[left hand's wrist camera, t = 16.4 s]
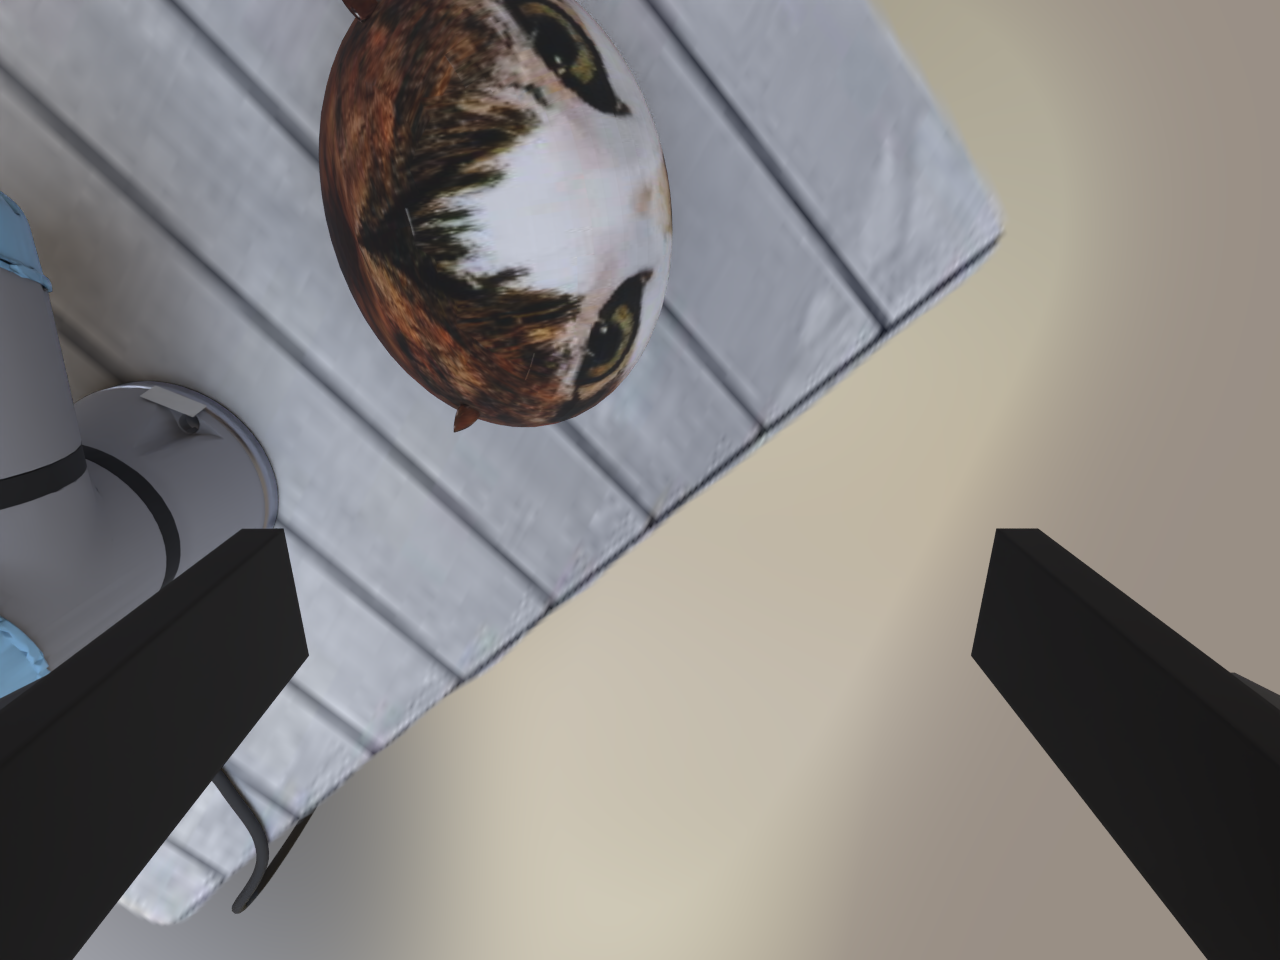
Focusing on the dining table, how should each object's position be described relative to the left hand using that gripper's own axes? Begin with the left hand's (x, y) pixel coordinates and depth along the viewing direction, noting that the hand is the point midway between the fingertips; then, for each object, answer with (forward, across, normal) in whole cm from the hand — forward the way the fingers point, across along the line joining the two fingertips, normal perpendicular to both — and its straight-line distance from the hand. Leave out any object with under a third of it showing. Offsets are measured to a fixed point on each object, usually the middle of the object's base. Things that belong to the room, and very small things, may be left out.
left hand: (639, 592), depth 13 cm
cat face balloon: (+36, -7, +7) cm, 37 cm away
